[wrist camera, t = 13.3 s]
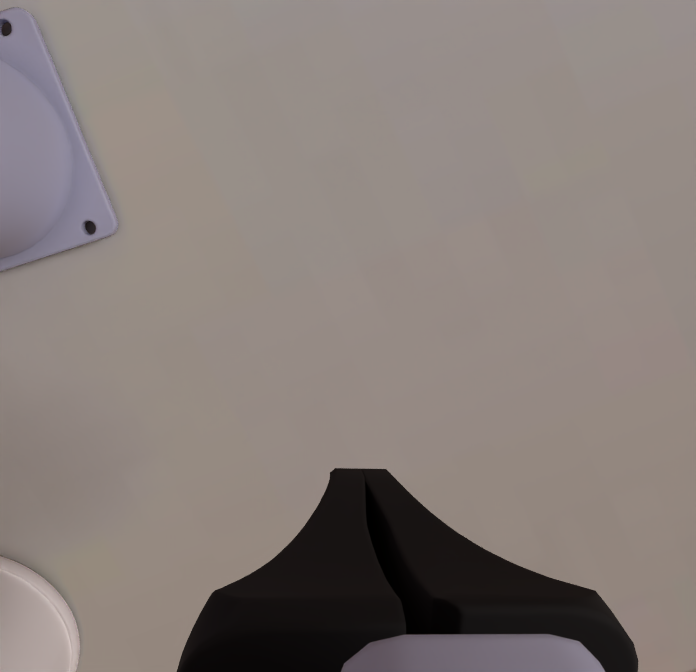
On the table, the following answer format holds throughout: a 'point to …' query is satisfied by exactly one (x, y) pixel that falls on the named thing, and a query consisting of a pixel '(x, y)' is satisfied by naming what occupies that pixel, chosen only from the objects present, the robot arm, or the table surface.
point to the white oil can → (34, 623)
